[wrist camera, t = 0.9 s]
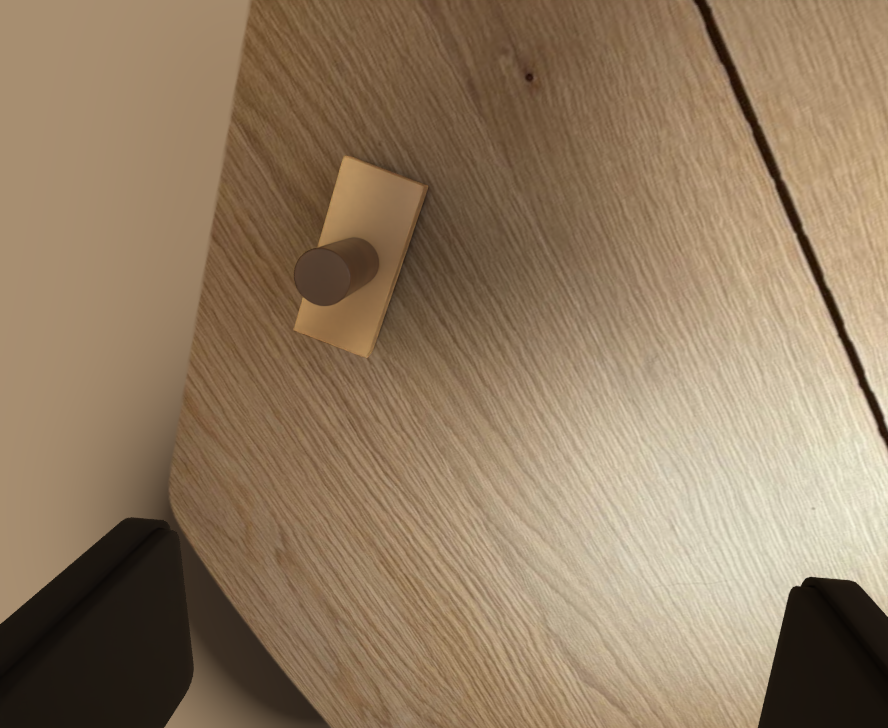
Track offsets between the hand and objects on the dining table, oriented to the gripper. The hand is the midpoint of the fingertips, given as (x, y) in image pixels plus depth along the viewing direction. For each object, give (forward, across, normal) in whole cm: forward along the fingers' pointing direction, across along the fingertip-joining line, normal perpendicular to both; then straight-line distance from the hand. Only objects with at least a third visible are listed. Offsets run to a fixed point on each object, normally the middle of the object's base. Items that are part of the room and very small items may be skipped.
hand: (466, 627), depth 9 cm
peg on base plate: (+27, +8, -3) cm, 28 cm away
